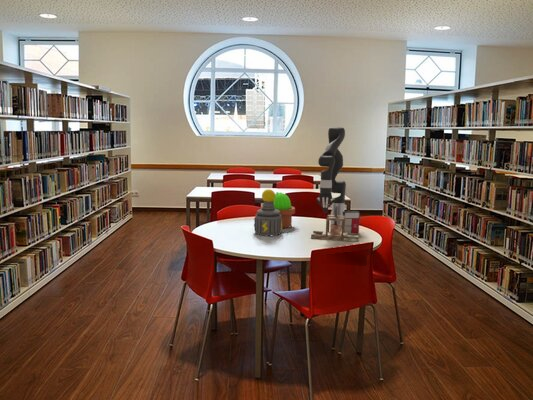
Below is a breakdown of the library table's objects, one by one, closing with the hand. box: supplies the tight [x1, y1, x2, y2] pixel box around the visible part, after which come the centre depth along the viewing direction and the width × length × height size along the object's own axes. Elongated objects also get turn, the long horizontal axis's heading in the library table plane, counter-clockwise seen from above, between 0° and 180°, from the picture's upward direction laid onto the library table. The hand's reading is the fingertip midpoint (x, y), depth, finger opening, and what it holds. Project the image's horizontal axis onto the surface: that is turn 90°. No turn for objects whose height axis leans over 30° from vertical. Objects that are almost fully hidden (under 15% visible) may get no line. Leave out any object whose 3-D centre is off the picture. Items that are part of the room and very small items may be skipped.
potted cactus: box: [273, 192, 296, 229], centre depth 348 cm, size 22×22×25 cm
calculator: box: [343, 210, 361, 234], centre depth 328 cm, size 11×4×15 cm, turn 101°
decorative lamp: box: [253, 188, 283, 236], centre depth 322 cm, size 19×19×30 cm
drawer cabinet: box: [310, 214, 360, 242], centre depth 313 cm, size 30×12×14 cm, turn 78°
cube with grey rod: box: [322, 206, 348, 236], centre depth 312 cm, size 16×9×19 cm, turn 78°
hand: (325, 213), depth 313 cm, fingers closed
